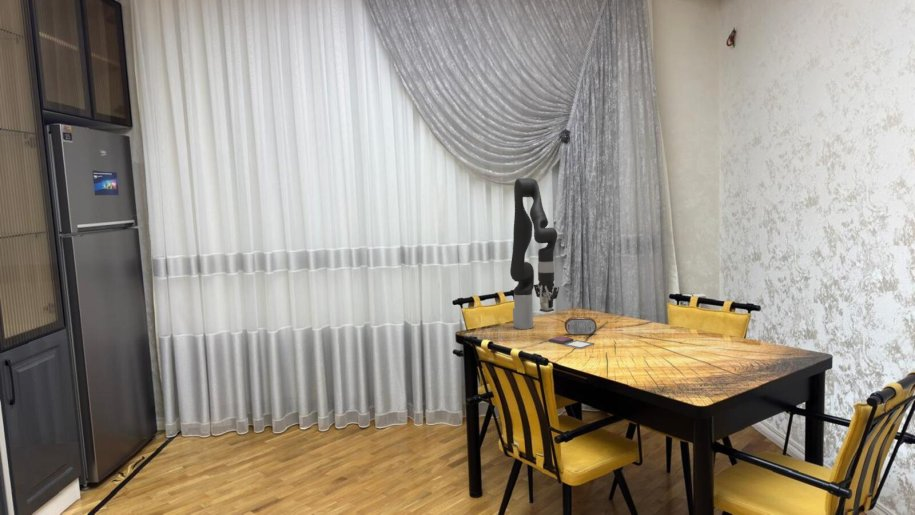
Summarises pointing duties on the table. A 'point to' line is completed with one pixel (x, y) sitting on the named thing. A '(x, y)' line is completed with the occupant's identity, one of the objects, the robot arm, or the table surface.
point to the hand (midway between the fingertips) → (546, 307)
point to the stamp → (545, 303)
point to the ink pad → (561, 340)
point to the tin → (580, 326)
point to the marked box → (579, 344)
